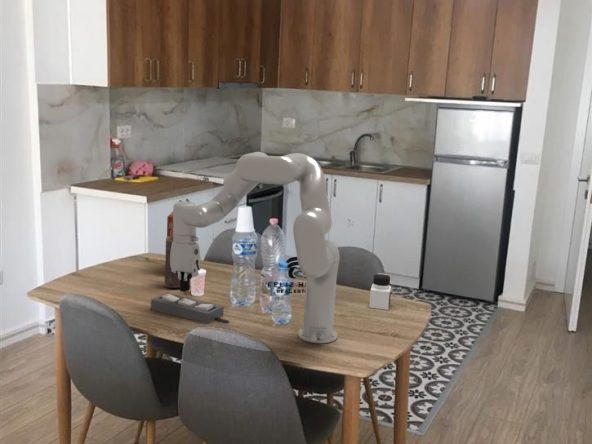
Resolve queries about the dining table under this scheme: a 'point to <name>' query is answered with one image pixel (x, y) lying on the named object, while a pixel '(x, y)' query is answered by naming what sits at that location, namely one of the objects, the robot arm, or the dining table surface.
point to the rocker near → (204, 306)
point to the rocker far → (170, 298)
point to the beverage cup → (198, 283)
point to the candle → (170, 276)
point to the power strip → (188, 309)
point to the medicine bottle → (380, 292)
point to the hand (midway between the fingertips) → (184, 290)
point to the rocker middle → (186, 302)
